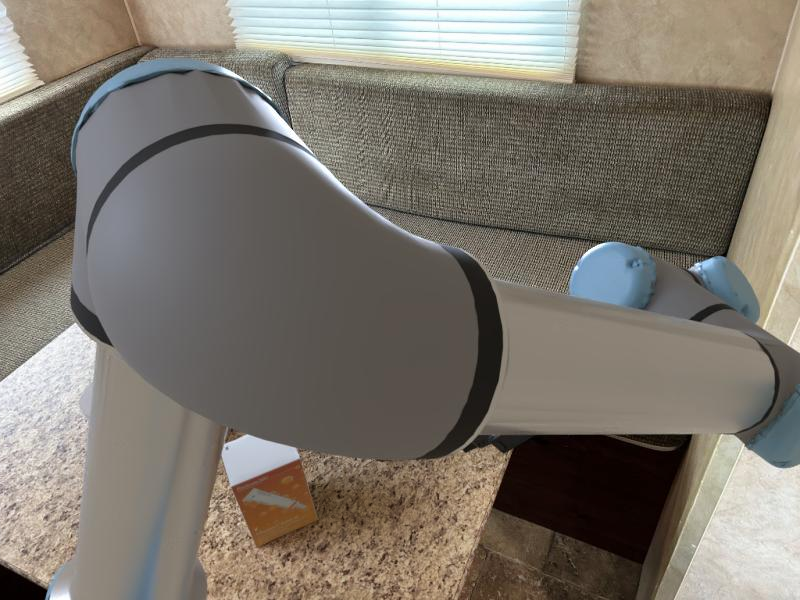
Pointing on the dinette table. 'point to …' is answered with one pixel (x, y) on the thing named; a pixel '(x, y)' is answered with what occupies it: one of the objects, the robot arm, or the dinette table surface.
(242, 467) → the small box
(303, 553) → the dinette table surface
